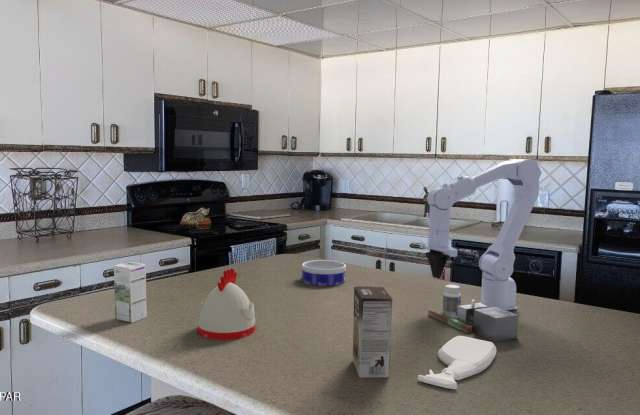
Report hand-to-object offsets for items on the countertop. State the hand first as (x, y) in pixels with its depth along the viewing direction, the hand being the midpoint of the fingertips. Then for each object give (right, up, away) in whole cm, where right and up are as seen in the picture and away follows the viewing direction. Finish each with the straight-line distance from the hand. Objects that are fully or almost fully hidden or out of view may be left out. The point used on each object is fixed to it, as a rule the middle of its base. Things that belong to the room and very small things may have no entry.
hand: (436, 277), depth 149 cm
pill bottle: (+3, -10, -5) cm, 12 cm away
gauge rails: (+5, -10, -10) cm, 15 cm away
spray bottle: (-5, -14, -40) cm, 43 cm away
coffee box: (-23, -13, -42) cm, 50 cm away
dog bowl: (-32, -6, +32) cm, 46 cm away
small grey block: (+7, -11, -15) cm, 20 cm away
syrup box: (-83, -9, -14) cm, 84 cm away
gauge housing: (+9, -12, -20) cm, 25 cm away
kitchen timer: (-56, -11, -20) cm, 61 cm away
